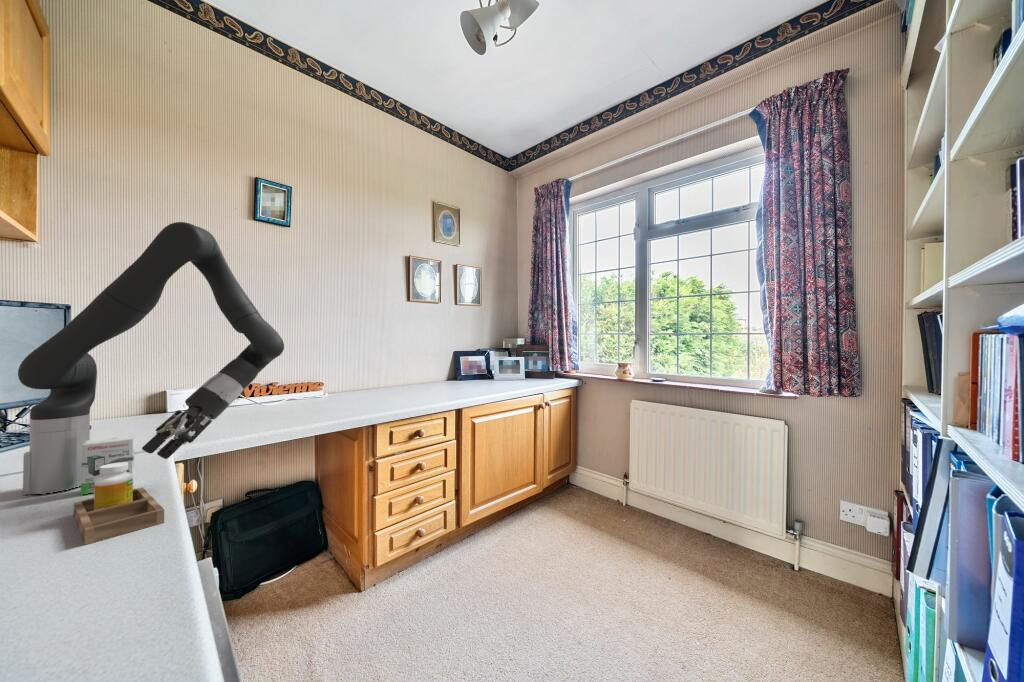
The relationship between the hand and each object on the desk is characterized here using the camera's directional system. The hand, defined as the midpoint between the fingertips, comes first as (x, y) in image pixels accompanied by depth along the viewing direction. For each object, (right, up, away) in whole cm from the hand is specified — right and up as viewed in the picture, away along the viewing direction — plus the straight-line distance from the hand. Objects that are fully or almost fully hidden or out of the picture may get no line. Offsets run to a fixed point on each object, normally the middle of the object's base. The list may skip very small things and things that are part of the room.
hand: (153, 454), depth 81 cm
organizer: (+1, -10, -8) cm, 13 cm away
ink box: (-18, -11, +8) cm, 23 cm away
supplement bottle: (-3, -10, -5) cm, 12 cm away
